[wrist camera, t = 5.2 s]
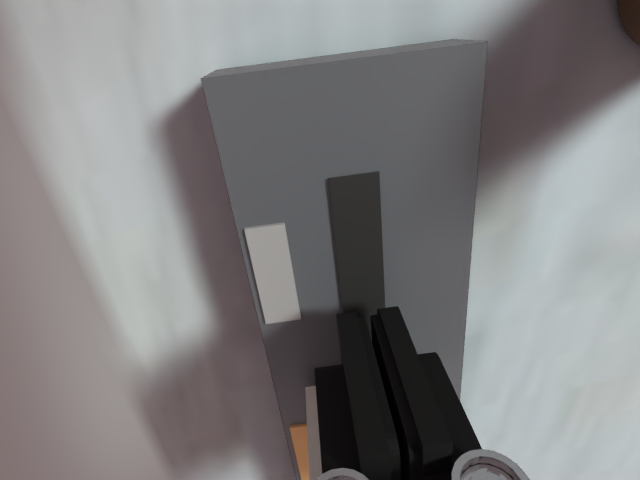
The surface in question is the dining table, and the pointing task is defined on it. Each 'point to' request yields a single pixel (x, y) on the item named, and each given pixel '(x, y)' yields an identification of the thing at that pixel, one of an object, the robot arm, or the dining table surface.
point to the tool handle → (630, 17)
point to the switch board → (352, 200)
